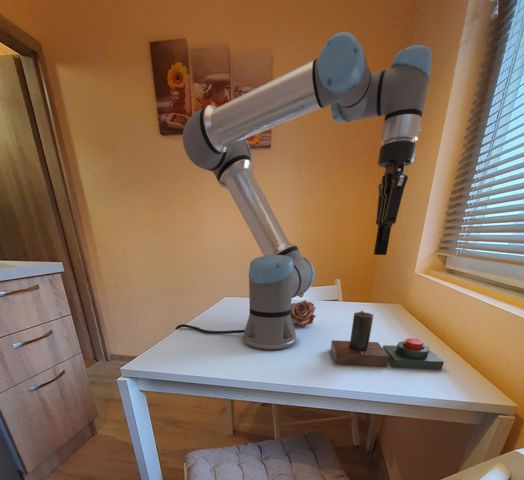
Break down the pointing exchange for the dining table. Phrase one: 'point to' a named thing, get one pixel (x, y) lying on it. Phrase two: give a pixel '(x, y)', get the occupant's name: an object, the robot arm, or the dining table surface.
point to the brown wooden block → (359, 355)
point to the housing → (412, 357)
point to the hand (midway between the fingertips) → (379, 254)
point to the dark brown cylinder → (361, 331)
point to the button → (413, 344)
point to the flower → (302, 312)
